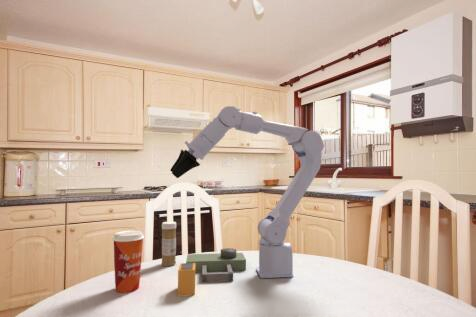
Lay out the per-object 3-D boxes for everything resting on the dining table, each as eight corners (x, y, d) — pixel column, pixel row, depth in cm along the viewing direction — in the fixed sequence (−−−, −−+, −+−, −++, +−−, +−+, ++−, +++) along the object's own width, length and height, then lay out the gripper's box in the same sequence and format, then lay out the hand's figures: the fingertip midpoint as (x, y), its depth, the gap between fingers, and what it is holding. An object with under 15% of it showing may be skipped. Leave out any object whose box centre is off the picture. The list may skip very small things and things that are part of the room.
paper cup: (119, 297, 69) (121, 237, 70) (105, 288, 74) (107, 233, 75) (149, 288, 75) (150, 232, 75) (134, 280, 80) (135, 228, 80)
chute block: (195, 286, 76) (195, 262, 76) (194, 295, 71) (194, 269, 71) (179, 287, 76) (179, 262, 76) (177, 295, 70) (178, 269, 71)
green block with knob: (242, 261, 97) (242, 246, 97) (250, 280, 80) (250, 261, 81) (187, 263, 95) (187, 248, 95) (184, 282, 78) (184, 263, 79)
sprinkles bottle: (171, 261, 97) (172, 220, 98) (178, 264, 94) (178, 222, 94) (158, 264, 94) (159, 222, 95) (165, 267, 91) (165, 223, 92)
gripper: (193, 130, 91) (162, 162, 89) (200, 129, 77) (163, 166, 75) (209, 146, 92) (179, 178, 90) (219, 147, 78) (184, 185, 76)
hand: (173, 174), depth 83 cm, fingers open, 7 cm apart
